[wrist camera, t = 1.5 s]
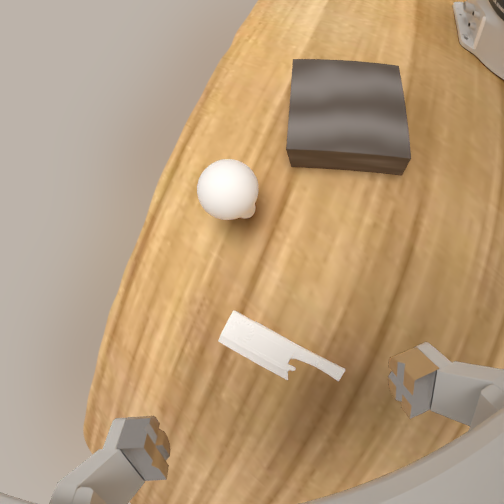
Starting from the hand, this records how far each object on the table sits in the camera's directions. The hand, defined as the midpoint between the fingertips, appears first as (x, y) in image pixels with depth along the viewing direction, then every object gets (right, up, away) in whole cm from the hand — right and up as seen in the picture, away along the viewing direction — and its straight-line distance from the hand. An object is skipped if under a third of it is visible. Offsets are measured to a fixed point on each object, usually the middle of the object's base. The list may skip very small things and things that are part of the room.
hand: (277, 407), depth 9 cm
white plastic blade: (+2, -7, +26) cm, 27 cm away
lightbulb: (-1, +10, +29) cm, 31 cm away
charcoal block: (+12, +22, +28) cm, 37 cm away
